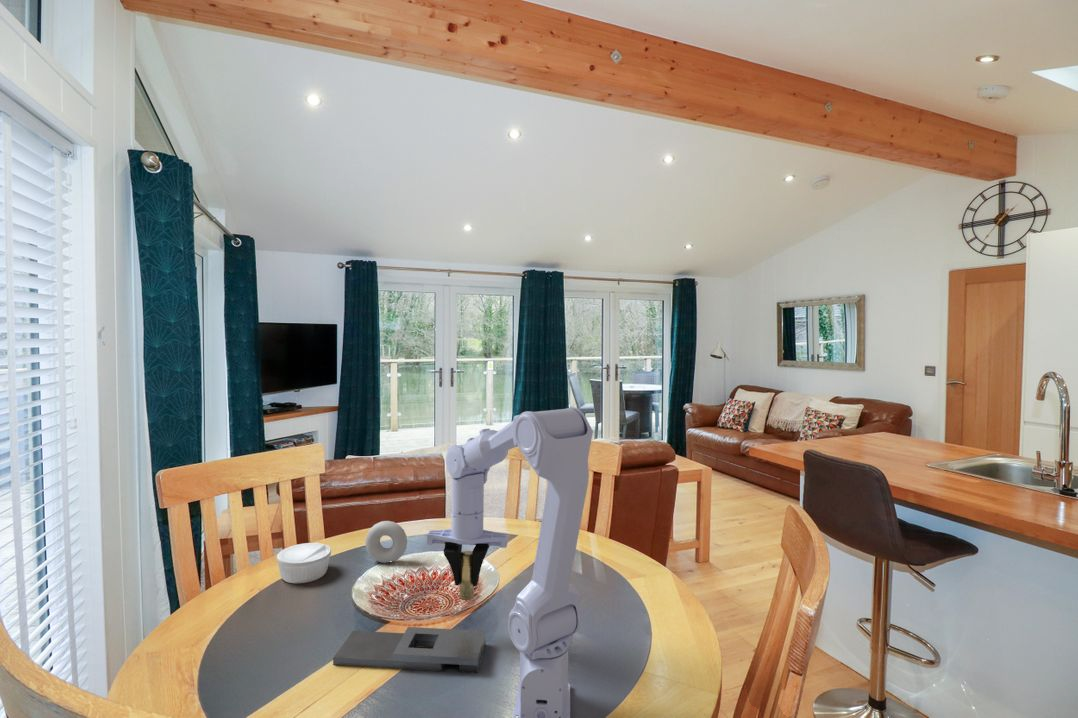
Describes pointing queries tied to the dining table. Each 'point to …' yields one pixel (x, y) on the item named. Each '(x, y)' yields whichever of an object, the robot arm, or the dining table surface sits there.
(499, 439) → the robot arm
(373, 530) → the donut
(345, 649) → the link
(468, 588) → the pin
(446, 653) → the link
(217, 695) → the dining table surface
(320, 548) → the ramekin
